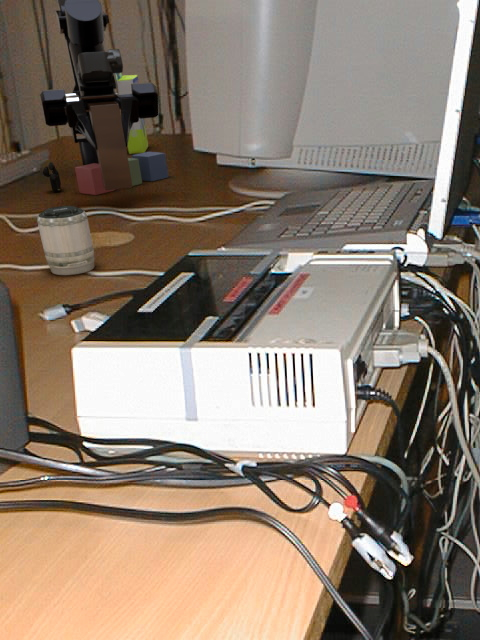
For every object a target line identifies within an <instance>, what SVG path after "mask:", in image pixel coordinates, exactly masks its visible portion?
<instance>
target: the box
mask: <svg viewBox="0 0 480 640" xmlns="http://www.w3.org/2000/svg"><path fill="white" fill-rule="evenodd" d="M113 74H114V78H115V82H116V89H117V93H119V94H120V95H124V94H132V90H131V84H136V83H139V76H138V74H129V75H123V72H122V73H113ZM148 147H149V141H148V134H147V127H146V121H145V118H142V119H140V118H139V121H138V122H137V123H133V125H132V128H131V130H130V134H129V140H128V146H127V151H128V155H136V154H140V153H145V152H147V149H148Z"/></svg>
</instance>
